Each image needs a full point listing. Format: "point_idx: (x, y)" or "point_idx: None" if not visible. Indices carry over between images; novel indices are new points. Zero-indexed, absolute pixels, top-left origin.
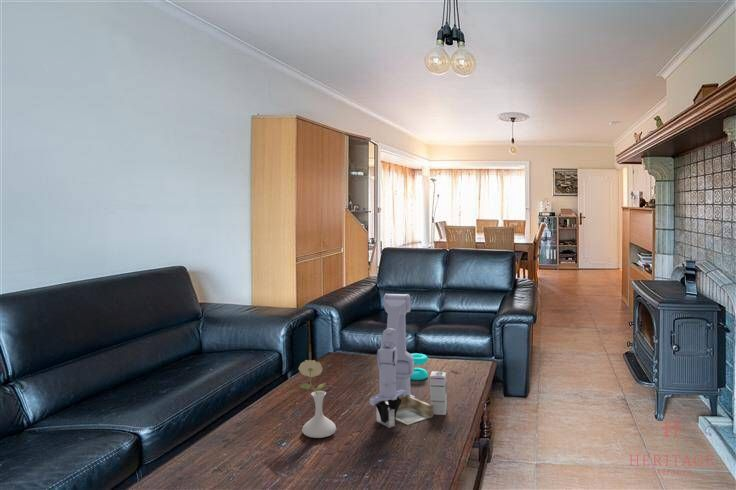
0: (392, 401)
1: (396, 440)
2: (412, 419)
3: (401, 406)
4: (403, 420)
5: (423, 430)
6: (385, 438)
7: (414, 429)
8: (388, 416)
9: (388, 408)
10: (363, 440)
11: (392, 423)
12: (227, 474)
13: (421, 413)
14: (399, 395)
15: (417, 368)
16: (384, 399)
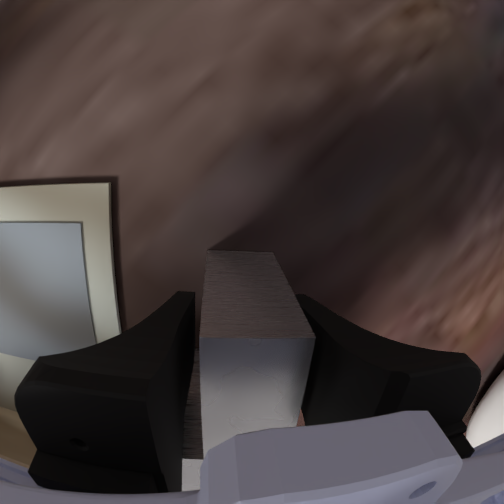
0: (168, 461)
1: (386, 48)
2: (22, 237)
3: (13, 414)
4: (85, 272)
5: (85, 31)
6: (421, 131)
7: (120, 83)
8: (293, 304)
9: (253, 396)
10: (501, 219)
11: (232, 261)
12: None
13: None
14: (11, 489)
15: None
16: (497, 466)
